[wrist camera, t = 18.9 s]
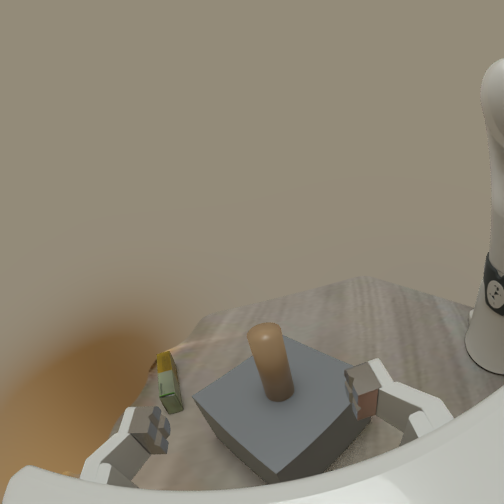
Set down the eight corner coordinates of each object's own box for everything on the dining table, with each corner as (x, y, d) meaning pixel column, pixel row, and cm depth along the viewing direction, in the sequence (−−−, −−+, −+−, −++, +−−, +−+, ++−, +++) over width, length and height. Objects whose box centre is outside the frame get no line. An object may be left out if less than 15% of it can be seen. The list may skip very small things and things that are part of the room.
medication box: (185, 411, 37) (175, 394, 36) (168, 415, 36) (158, 399, 35) (176, 365, 48) (169, 349, 47) (163, 369, 47) (155, 353, 46)
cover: (370, 420, 28) (376, 312, 22) (290, 501, 21) (253, 427, 15) (291, 379, 39) (268, 280, 33) (216, 436, 31) (163, 342, 26)
